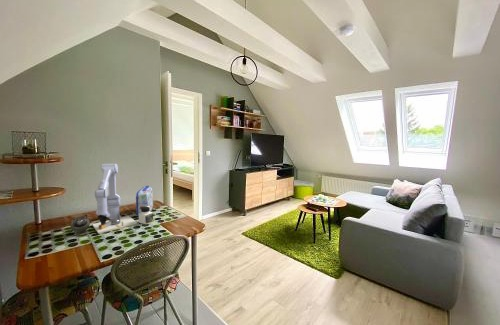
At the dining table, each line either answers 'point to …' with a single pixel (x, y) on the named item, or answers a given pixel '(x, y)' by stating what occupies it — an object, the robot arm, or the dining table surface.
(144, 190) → the lunch box
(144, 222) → the medicine bottle
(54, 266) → the dining table surface
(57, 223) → the dining table surface
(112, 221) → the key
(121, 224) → the board
